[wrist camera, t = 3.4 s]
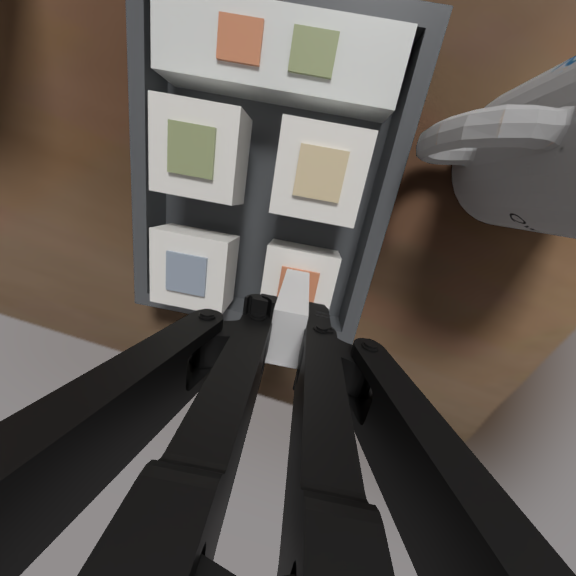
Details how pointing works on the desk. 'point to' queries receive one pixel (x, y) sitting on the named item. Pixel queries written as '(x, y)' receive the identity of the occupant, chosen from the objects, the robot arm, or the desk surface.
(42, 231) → the desk surface
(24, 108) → the desk surface
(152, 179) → the key olive
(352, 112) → the keypad
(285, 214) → the key sand
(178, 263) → the key slate
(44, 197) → the desk surface
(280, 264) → the key rust
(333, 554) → the robot arm
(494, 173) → the mug
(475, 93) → the desk surface
